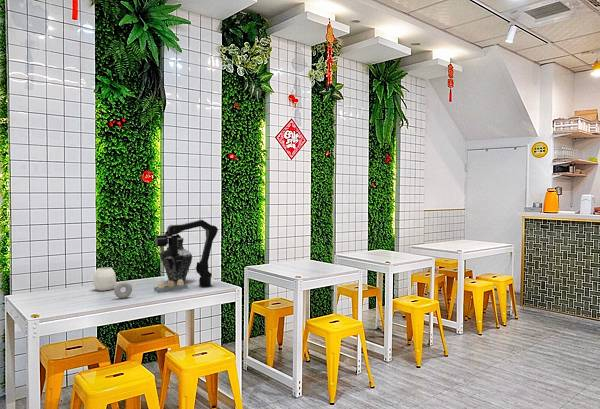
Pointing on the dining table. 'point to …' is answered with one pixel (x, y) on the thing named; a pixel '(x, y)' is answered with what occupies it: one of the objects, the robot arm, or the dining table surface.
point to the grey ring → (120, 285)
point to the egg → (170, 284)
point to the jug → (183, 267)
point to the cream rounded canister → (104, 279)
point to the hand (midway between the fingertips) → (173, 270)
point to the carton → (164, 288)
